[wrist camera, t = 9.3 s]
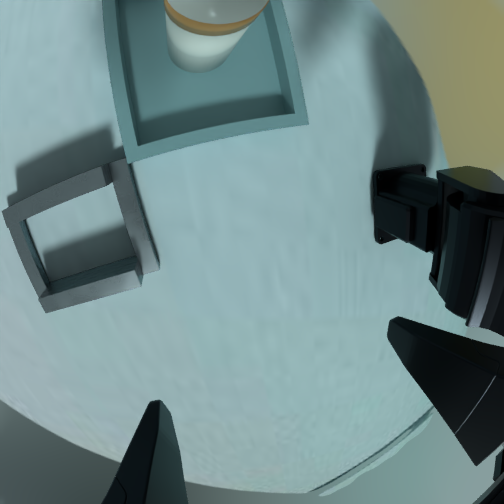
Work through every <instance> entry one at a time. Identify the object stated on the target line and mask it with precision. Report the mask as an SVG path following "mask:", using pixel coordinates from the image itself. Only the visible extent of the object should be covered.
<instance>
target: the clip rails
mask: <svg viewBox="0 0 504 504" xmlns="http://www.w3.org/2000/svg"><path fill="white" fill-rule="evenodd" d="M112 182H113V185H114V188H115V192H116V195H117V199H118V202H119V205H120V209H121V212H122V215H123V218H124V221H125V224H126V228H127V231H128V234H129V236H130V239H131V242H132V245H133V248H134V251H135V254H136V256H133V257H130V258H126V259H123V260H120V261H116V262H113V263H110V264H107V265H103V266H100V267H97V268H94V269H90V270H87V271H84V272H81V273H78V274H75V275H72V276H68V277H65V278H62V279H59V280H56V281H53V282H49V280H48V278H47V276H46V273H45V271H44V269H43V267H42V264H41V262H40V260H39V257H38V255H37V253H36V250H35V248H34V245H33V242H32V240H31V237H30V234H29V232H28V229H27V226H26V223H25V219H27V218H29V217H31V216H33V215H35V214H38V213H40V212H42V211H44V210H47V209H49V208H51V207H54V206H56V205H58V204H61V203H63V202H66V201H68V200H70V199H73V198H76V197H78V196H81V195H83V194H86V193H89V192H91V191H94V190H97V189H99V188H102V187H105V186H107V185H109V184H110V183H112ZM2 213H3V217H4V220H5V223H6V226H7V228H8V227H9V230H10V233H11V236H12V238H13V241H14V243H15V246H16V249H17V251H18V254H19V256H20V258H21V261H22V263H23V265H24V268H25V270H26V272H27V274H28V276H29V279H30V281H31V283H32V285H33V287H34V289H35V291H36V293H37V295H38V297H39V299H38V300H39V302H40V303H41V305H42V307H43V309H44V311H45V313H48V312H52V311H56V310H59V309H63V308H67V307H70V306H74V305H77V304H81V303H85V302H88V301H92V300H95V299H99V298H103V297H106V296H110V295H113V294H117V293H121V292H124V291H128V290H131V289H135V288H138V287H141V285H142V280H143V275H144V274H148V273H151V272H155V271H158V270H160V264H159V261H158V258H157V255H156V252H155V249H154V246H153V243H152V240H151V237H150V234H149V231H148V228H147V225H146V221H145V218H144V215H143V212H142V208H141V205H140V201H139V198H138V194H137V191H136V187H135V183H134V180H133V176H132V172H131V168H130V164H128V163H127V159H126V158H123V159H120V160H117V161H114V162H112V163H109V164H106V165H103V166H100V167H97V168H94V169H92V170H89V171H87V172H84V173H81V174H79V175H77V176H74V177H72V178H69V179H67V180H65V181H62V182H60V183H58V184H55V185H53V186H51V187H49V188H46V189H44V190H42V191H40V192H38V193H36V194H34V195H32V196H30V197H28V198H26V199H24V200H22V201H20V202H18V203H16V204H14V205H12V206H10V207H8V208H6V209H5V210H3V211H2Z"/></svg>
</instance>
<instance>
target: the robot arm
mask: <svg viewBox="0 0 504 504" xmlns="http://www.w3.org/2000/svg"><path fill="white" fill-rule="evenodd" d="M379 174H380V178H378V176H379ZM437 179H438V180H437ZM437 179H434V178H430V177H426V167H425V165H423V164H415V165H408V166H401V167H395V168H388V169H382V170H377V171H375V172H374V174H373V183H374V204H375V241H376V242H377V243H379V244H383V243H386V242H389V241H392V240H395V239H400V240H402V241H404V242H406V243H410V244H412V245H414V246H415V247H417V248H419V249H421V250H423V251H424V252H430V253H432V254H433V261H432V268H431V272H430V275H429V280H430V282H431V283H432V284H433V286H434V287H435V288H436V290H437V291H438V293H439V295H440V296H441V297H442V299H443V300H444V302H446V303H445V307H446V308H447V309H448V310H449V311H451V312H452V313H453V314H455V315H457V316H459V317H461V318H463V319H466V323H465V325H466V326H468V327H481V328H485V329H489V330H491V331H493V332H496V333H498V334H500V335H502V336H504V181H503V180H502V179H501V178H500V177H499V176H497V175H496V174H495V173H493V172H492V171H491V170H487V169H482V168H477V167H471V166H463V167H457V168H450V169H444V170H438V171H437ZM380 238H381V239H380ZM387 337H388V340H389V342H390V343H391V345H392V347H393V348H394V350H395V352H396V353H397V355H398V357H399V358H400V360H401V361H402V363H403V365H404V366H405V368H406V369H407V370H408V372H409V373H410V374H411V376H412V377H413V378H414V380H415V381H416V382H417V384H418V385H419V386H420V388H421V389H422V390H423V392H424V393H425V394H426V396H427V397H428V398H429V400H430V401H431V402H432V404H433V405H434V407H435V408H436V409H437V411H438V412H439V413H440V415H441V416H442V417H443V419H444V420H445V422H446V423H447V425H448V426H449V427H450V429H451V430H452V432H453V433H454V434H455V436H456V438H457V439H458V441H459V442H460V444H461V445H462V447H463V448H464V450H465V451H466V453H467V454H468V456H469V457H470V459H471V460H472V462H473V463H474V465H475V466H478V465H479V464H480V463H481V462H482V461H483V460H485V459H486V458H487V457H488V456H489V455H490V454H491V453H493V452H494V451H495V450H496V449H497V448H498V447H499V446H500V445H502V446H503V447H504V347H500V346H496V345H491V344H487V343H483V342H480V341H476V340H473V339H472V340H471V339H469V338H466V337H463V336H460V335H457V334H453V333H450V332H447V331H444V330H441V329H437V328H434V327H431V326H428V325H425V324H422V323H418V322H415V321H412V320H409V319H406V318H403V317H399V316H398V317H395V318H393V319H391V320H390V321H389V326H388V332H387ZM115 476H116V477H114V480H113V482H112V484H111V486H110V488H109V490H108V492H107V494H106V496H105V498H104V500H103V502H102V503H101V504H188V499H187V494H186V488H185V482H184V475H183V468H182V461H181V455H180V449H179V445H178V441H177V437H176V433H175V429H174V425H173V420H172V416H171V413H170V411H169V410H168V409H167V407H166V406H165V404H164V403H163V402H162V401H161V400H155V401H151V402H150V403H149V404H148V406H147V408H146V410H145V412H144V415H143V417H142V419H141V421H140V423H139V425H138V427H137V429H136V432H135V434H134V436H133V438H132V440H131V442H130V444H129V447H128V449H127V451H126V453H125V455H124V457H123V460H122V462H121V464H120V466H119V468H118V471H117V473H116V475H115ZM493 480H494V481H495V482H494V483H493V484H492V485H491V486H490V487H489V488H488V489H487V490H486V491H485V492H484V493H483V494H482V495H481V496H480V497H479V498H478V499H477V500H476V501H475V502H474V503H473V504H504V448H503V449H502V450H501V451H500V452H499V454H498V455H497V456H496V461H495V470H494V476H493Z"/></svg>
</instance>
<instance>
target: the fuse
mask: <svg viewBox="0 0 504 504" xmlns="http://www.w3.org/2000/svg"><path fill="white" fill-rule="evenodd" d="M268 2H269V0H164V8H165V15H166V33H167V47H168V54H169V57H170V59H171V61H172V62H173V63H174V64H175V65H176V66H177V67H179V68H180V69H182V70H184V71H187V72H191V73H204V72H209V71H212V70H214V69H216V68H218V67H219V66H221V65H222V64H223V63H224V62H225V61H226V59H227V58H228V56H229V55H230V53H231V52H232V50H233V49H234V47H235V46H236V44H237V43H238V41H239V40H240V39H241V37H242V36H243V34H244V33H245V31H246V30H247V29H248V27H249V26H250V25H251V24H252V23H253V22H254V21H255V19H256V18H257V17H258V16H259V14H260V13H261V12H262V11H263V9H264V8H265V7H266V5H267V4H268Z"/></svg>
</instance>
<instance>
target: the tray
mask: <svg viewBox="0 0 504 504" xmlns="http://www.w3.org/2000/svg"><path fill="white" fill-rule="evenodd" d="M102 6H103V21H104V33H105V43H106V51H107V59H108V67H109V74H110V80H111V87H112V92H113V98H114V104H115V109H116V114H117V119H118V124H119V129H120V133H121V138H122V142H123V147H124V151H125V155H126V159H127V163H128V164H129V163H132V162H135V161H139V160H142V159H145V158H148V157H152V156H155V155H159V154H162V153H166V152H169V151H173V150H177V149H181V148H184V147H188V146H192V145H196V144H201V143H205V142H209V141H214V140H218V139H223V138H228V137H233V136H238V135H243V134H248V133H254V132H260V131H266V130H272V129H279V128H285V127H293V126H301V125H309V122H308V116H307V110H306V105H305V99H304V94H303V89H302V84H301V79H300V74H299V69H298V64H297V60H296V55H295V51H294V46H293V42H292V38H291V34H290V30H289V26H288V22H287V18H286V14H285V11H284V7H283V3H282V0H269V2H268V4H267V5H266V7H265V8H264V9H263V11H262V12H261V13H260V14H259V16H258V17H257V18H256V19H255V21H254V22H253V23H252V24H251V25H250V26H249V27H248V29H247V30H246V31H245V33H244V34H243V36H242V37H241V39H240V40H239V41H238V43H237V44H236V46H235V47H234V49H233V50H232V52H231V53H230V55H229V56H228V58H227V59H226V61H225V62H224V63H223V64H222V65H221V66H219V67H218V68H216V69H214V70H212V71H209V72H204V73H191V72H187V71H184V70H182V69H180V68H179V67H177V66H176V65H175V64H174V63H173V62H172V61H171V59H170V57H169V54H168V47H167V33H166V15H165V8H164V0H102Z"/></svg>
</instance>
